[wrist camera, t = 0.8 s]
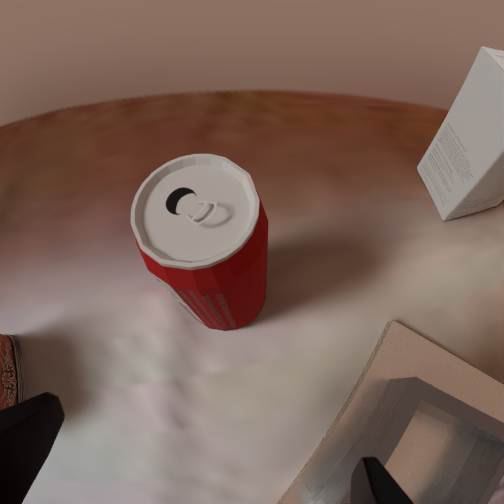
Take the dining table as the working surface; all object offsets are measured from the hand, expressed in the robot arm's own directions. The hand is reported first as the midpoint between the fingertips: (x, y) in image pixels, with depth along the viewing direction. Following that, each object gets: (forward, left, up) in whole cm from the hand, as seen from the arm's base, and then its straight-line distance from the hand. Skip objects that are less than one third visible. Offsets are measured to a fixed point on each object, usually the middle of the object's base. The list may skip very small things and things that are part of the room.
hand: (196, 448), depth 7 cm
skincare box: (+25, -8, -13) cm, 30 cm away
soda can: (+6, +5, -13) cm, 15 cm away
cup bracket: (+1, -13, -13) cm, 18 cm away
